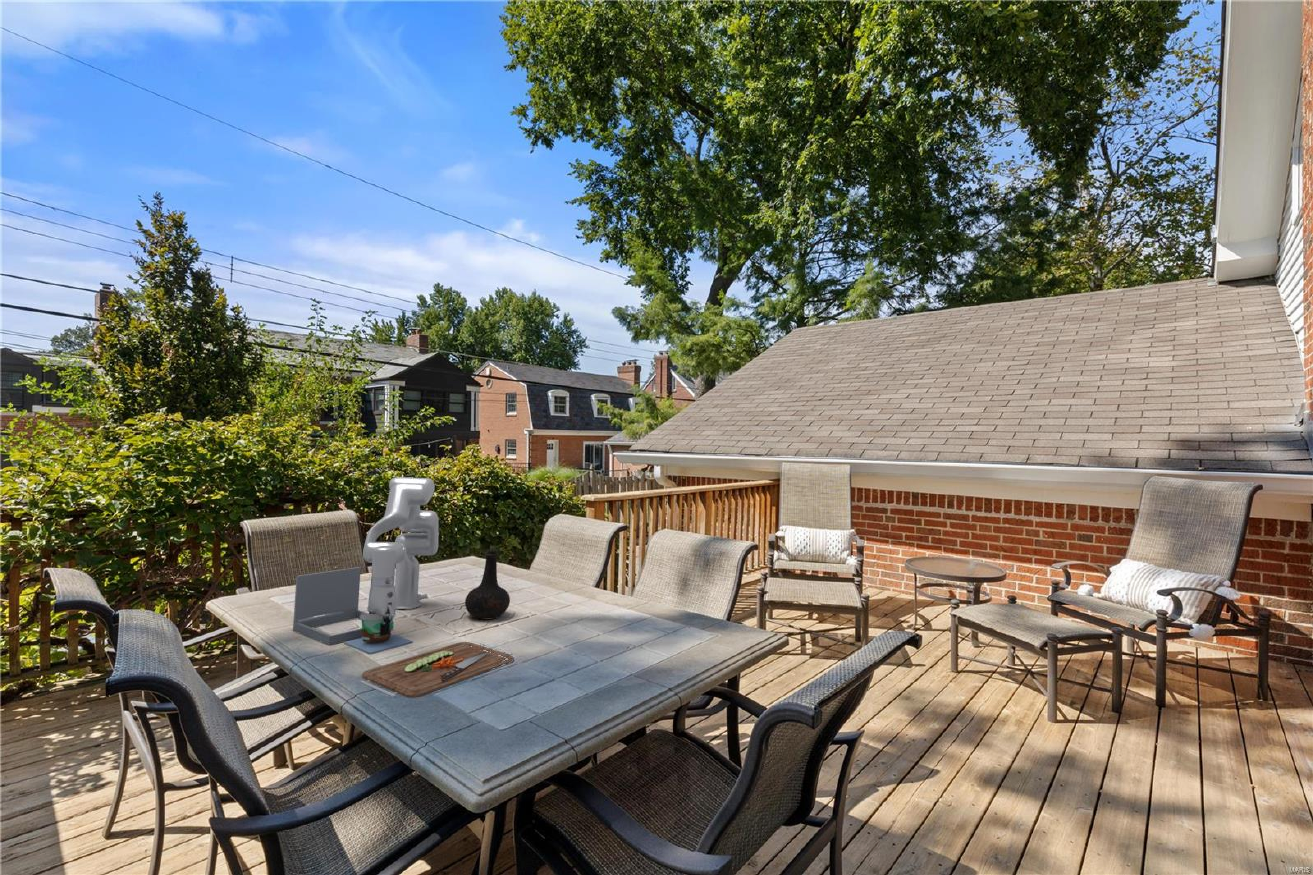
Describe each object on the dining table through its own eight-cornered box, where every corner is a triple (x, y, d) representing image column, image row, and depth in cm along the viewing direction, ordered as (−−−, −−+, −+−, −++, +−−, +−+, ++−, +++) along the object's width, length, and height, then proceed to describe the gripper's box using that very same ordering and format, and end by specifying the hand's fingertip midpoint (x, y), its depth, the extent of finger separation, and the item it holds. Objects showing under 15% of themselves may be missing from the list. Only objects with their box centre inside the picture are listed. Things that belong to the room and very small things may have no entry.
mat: (386, 633, 217) (386, 631, 217) (412, 642, 208) (412, 641, 208) (343, 643, 204) (343, 642, 204) (370, 654, 195) (370, 652, 195)
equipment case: (356, 616, 235) (359, 566, 236) (393, 629, 222) (396, 576, 222) (292, 630, 215) (296, 575, 215) (329, 645, 201) (333, 587, 202)
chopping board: (470, 642, 213) (470, 634, 213) (523, 659, 199) (523, 650, 199) (350, 679, 175) (350, 669, 175) (404, 704, 161) (405, 692, 161)
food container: (367, 646, 199) (369, 616, 199) (358, 642, 203) (359, 613, 203) (401, 637, 209) (402, 609, 210) (391, 634, 213) (393, 606, 213)
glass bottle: (455, 619, 238) (459, 550, 239) (480, 608, 256) (484, 544, 256) (493, 625, 233) (497, 555, 234) (516, 614, 250) (520, 548, 251)
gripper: (406, 583, 205) (403, 635, 205) (378, 575, 214) (375, 625, 214) (387, 587, 199) (383, 640, 199) (358, 579, 208) (355, 630, 208)
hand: (379, 632), depth 206 cm, fingers closed on food container, 5 cm apart
